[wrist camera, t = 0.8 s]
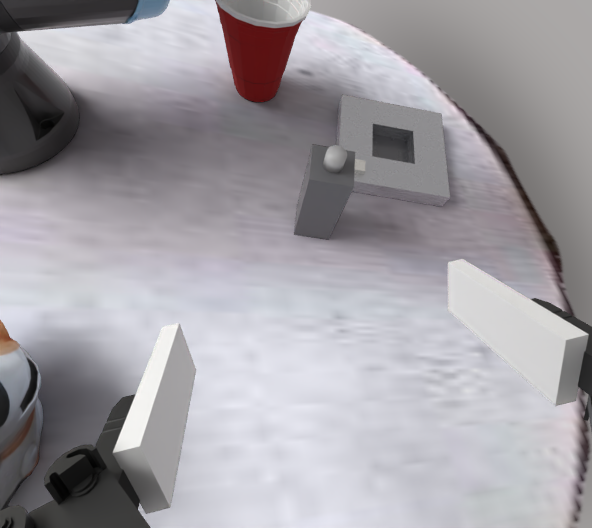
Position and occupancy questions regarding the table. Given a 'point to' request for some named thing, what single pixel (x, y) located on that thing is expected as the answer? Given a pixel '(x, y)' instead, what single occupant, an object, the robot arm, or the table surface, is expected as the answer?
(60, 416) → the table surface
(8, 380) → the lucky cat figurine
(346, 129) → the socket
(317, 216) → the plug
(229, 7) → the plastic cup
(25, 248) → the table surface
